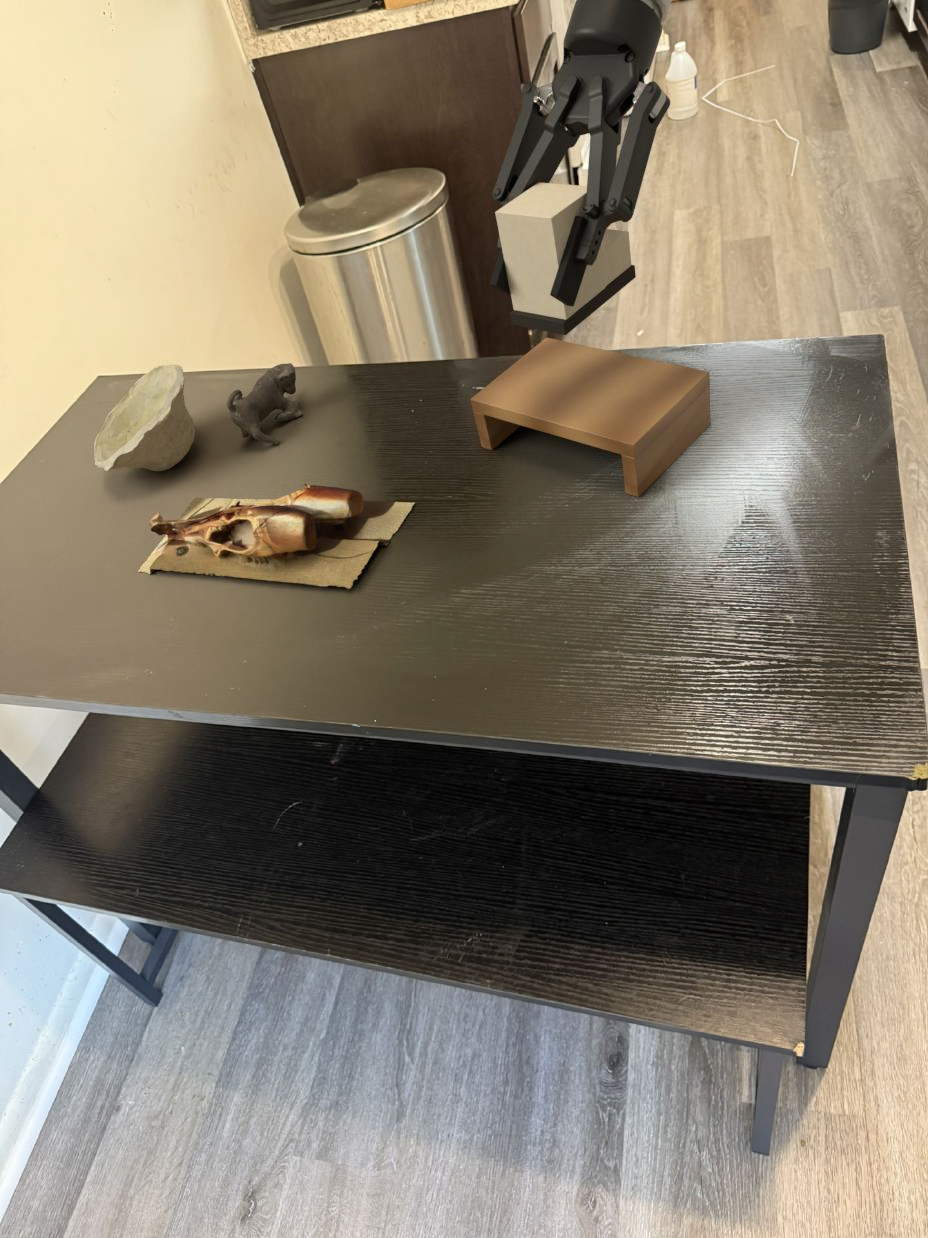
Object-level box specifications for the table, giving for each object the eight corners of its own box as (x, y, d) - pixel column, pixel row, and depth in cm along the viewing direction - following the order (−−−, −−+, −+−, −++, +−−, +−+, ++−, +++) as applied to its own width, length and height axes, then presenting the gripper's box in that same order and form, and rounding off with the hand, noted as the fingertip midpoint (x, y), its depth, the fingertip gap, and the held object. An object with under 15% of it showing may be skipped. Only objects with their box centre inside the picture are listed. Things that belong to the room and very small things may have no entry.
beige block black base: (565, 335, 76) (548, 220, 69) (511, 324, 79) (490, 214, 72) (636, 277, 80) (626, 163, 74) (581, 269, 84) (568, 160, 77)
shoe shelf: (711, 424, 87) (709, 371, 83) (638, 497, 82) (633, 444, 78) (554, 385, 99) (546, 337, 95) (481, 447, 93) (469, 399, 89)
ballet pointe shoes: (348, 545, 76) (98, 537, 86) (371, 597, 81) (131, 584, 91) (398, 448, 84) (164, 451, 94) (416, 500, 89) (192, 498, 99)
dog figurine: (269, 454, 102) (244, 400, 97) (233, 449, 105) (207, 396, 100) (324, 398, 109) (303, 344, 104) (289, 394, 111) (267, 342, 106)
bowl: (112, 448, 112) (71, 380, 105) (215, 414, 112) (181, 343, 105) (105, 513, 101) (59, 441, 94) (220, 475, 101) (182, 401, 94)
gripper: (743, 33, 68) (643, 325, 73) (552, 41, 79) (475, 295, 84) (706, -27, 62) (600, 295, 67) (505, -9, 73) (425, 267, 78)
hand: (531, 294), depth 75 cm, fingers closed on beige block black base, 6 cm apart
